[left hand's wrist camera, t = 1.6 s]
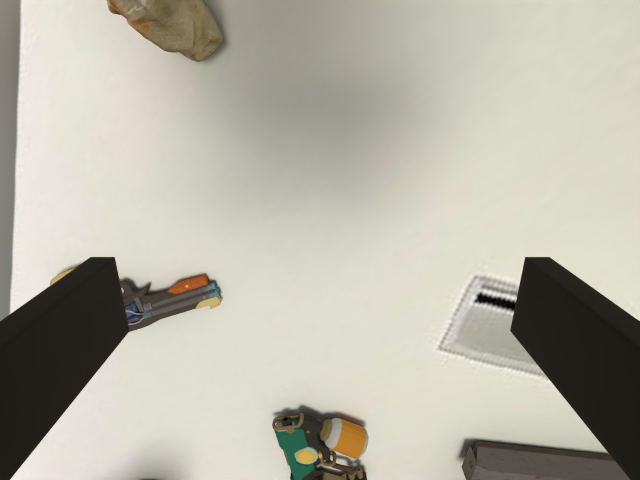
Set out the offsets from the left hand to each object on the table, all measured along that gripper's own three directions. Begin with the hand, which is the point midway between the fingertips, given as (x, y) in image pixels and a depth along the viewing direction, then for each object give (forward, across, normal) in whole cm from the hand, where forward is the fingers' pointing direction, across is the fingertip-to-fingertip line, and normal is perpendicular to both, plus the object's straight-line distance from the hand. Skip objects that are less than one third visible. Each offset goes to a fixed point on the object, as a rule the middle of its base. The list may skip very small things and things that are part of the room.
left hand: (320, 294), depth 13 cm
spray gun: (+33, 0, -44) cm, 55 cm away
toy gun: (+33, -23, -17) cm, 43 cm away
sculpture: (+33, -13, +13) cm, 38 cm away
